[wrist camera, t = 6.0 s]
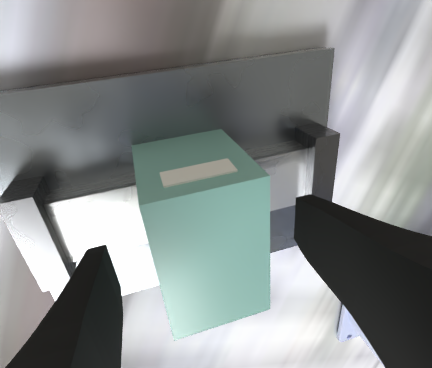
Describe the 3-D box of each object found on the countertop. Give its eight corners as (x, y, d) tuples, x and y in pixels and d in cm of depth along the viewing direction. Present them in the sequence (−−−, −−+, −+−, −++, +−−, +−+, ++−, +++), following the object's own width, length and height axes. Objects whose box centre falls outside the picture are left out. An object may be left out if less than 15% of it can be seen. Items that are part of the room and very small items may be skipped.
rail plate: (323, 47, 14) (362, 51, 12) (308, 232, 19) (333, 259, 17) (-40, 96, 11) (-81, 114, 8) (64, 300, 16) (55, 344, 14)
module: (221, 127, 13) (270, 173, 9) (230, 236, 16) (269, 309, 12) (131, 143, 12) (138, 203, 8) (158, 255, 15) (174, 340, 11)
